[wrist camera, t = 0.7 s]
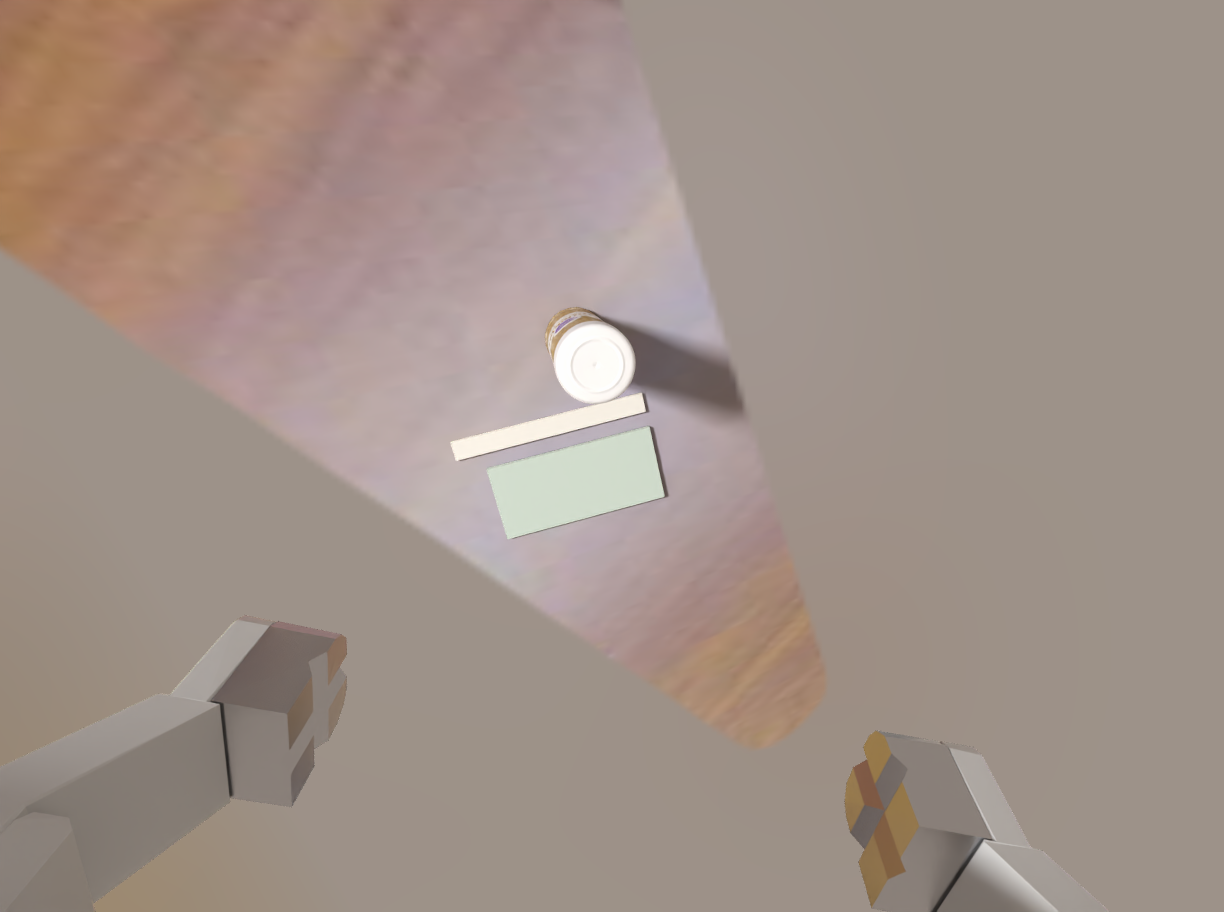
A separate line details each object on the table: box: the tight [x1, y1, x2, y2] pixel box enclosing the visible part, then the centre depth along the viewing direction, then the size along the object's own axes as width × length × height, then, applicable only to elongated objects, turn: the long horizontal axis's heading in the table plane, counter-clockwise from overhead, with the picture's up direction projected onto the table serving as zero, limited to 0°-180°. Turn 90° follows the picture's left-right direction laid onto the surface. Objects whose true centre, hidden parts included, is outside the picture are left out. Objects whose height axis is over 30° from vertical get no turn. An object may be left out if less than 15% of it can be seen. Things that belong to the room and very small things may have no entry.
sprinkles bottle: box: [545, 307, 636, 404], centre depth 43 cm, size 5×5×14 cm
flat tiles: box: [450, 393, 665, 539], centre depth 52 cm, size 9×15×1 cm, turn 103°
